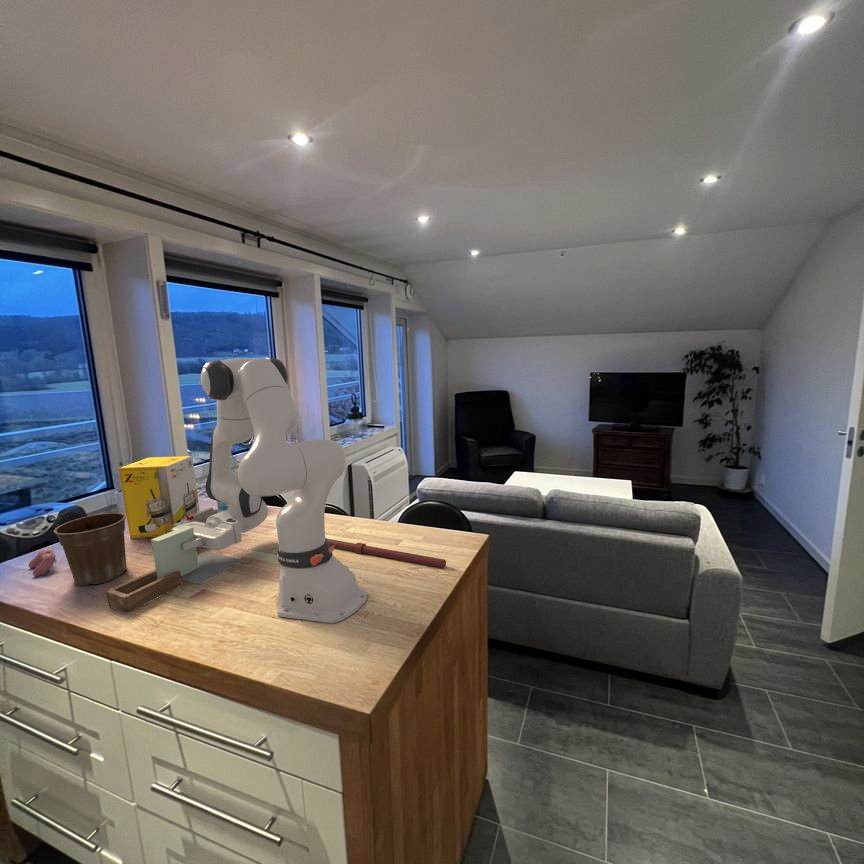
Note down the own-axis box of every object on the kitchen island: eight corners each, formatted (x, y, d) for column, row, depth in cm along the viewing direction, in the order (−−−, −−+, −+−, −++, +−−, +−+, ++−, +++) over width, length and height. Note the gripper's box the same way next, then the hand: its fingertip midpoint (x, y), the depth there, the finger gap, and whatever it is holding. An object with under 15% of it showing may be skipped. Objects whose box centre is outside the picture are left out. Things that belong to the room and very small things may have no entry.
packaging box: (176, 536, 155) (166, 466, 151) (130, 538, 155) (118, 468, 151) (200, 519, 171) (192, 455, 167) (158, 521, 171) (149, 457, 167)
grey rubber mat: (244, 561, 134) (244, 559, 134) (198, 584, 121) (198, 583, 121) (207, 552, 141) (207, 551, 141) (161, 573, 128) (161, 572, 128)
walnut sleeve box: (182, 585, 121) (180, 571, 120) (127, 613, 108) (124, 597, 108) (163, 579, 124) (161, 566, 124) (108, 606, 112) (105, 591, 111)
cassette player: (182, 553, 142) (178, 522, 140) (176, 552, 143) (171, 522, 141) (220, 533, 156) (217, 506, 154) (214, 533, 157) (211, 505, 155)
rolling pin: (313, 546, 143) (313, 537, 142) (320, 543, 146) (319, 533, 145) (442, 571, 123) (442, 560, 123) (447, 566, 126) (446, 556, 126)
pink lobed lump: (51, 578, 132) (61, 554, 133) (31, 576, 128) (41, 552, 130) (45, 568, 138) (55, 545, 139) (26, 567, 135) (36, 543, 136)
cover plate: (198, 567, 128) (193, 527, 126) (164, 583, 119) (158, 541, 117) (191, 565, 129) (186, 525, 127) (157, 581, 120) (151, 539, 118)
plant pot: (50, 585, 124) (39, 530, 121) (109, 560, 139) (100, 510, 136) (90, 594, 118) (79, 536, 115) (147, 566, 133) (139, 514, 130)
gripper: (195, 513, 139) (151, 530, 127) (242, 522, 130) (200, 540, 118) (198, 532, 141) (155, 550, 128) (245, 542, 132) (203, 563, 119)
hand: (177, 546), depth 123 cm, fingers closed on cover plate, 3 cm apart
